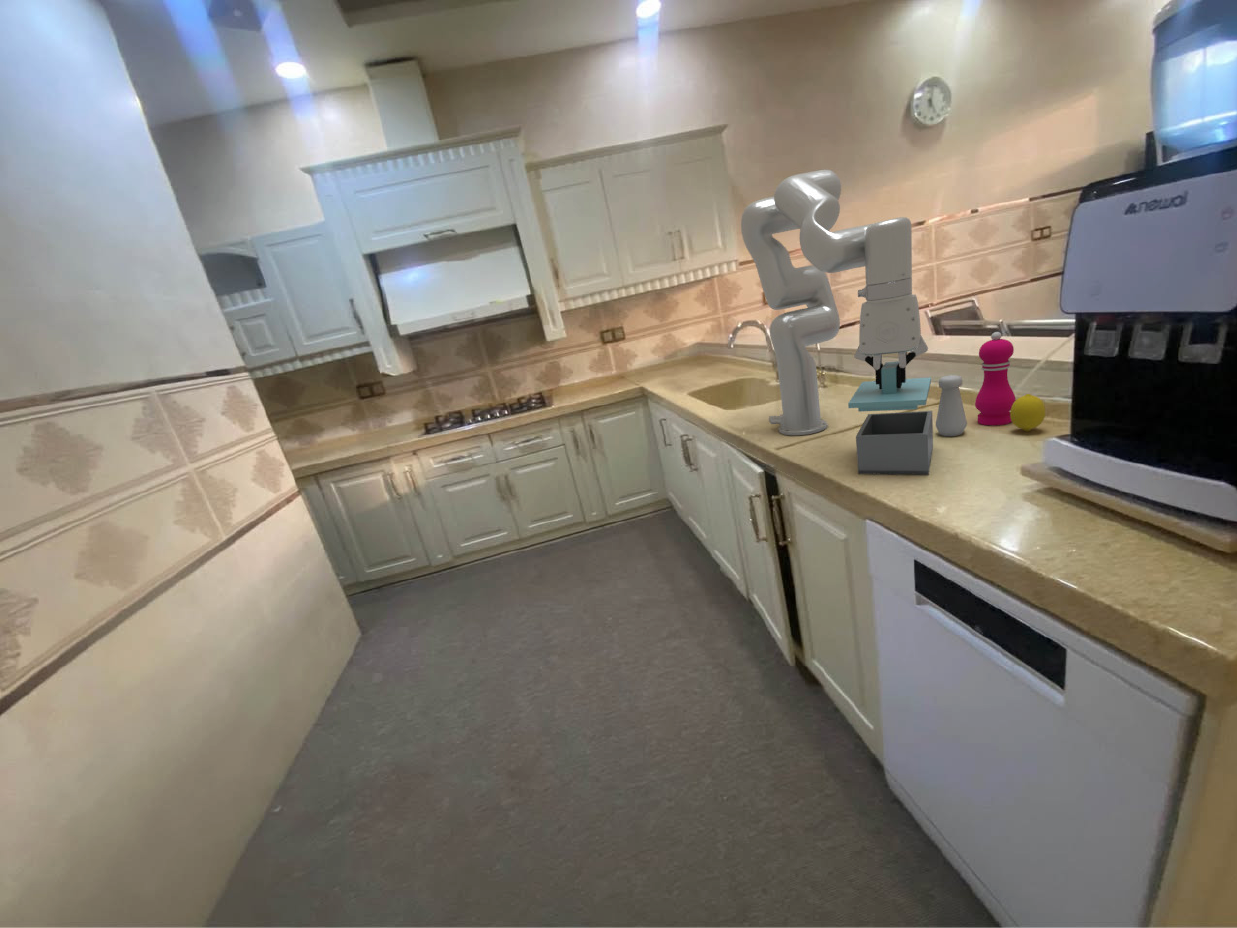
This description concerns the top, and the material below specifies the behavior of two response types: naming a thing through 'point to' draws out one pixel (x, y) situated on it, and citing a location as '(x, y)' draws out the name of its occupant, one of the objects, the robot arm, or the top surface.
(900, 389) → the lid
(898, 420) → the tub
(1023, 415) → the lemon
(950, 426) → the salt shaker
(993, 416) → the pepper mill
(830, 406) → the top surface
